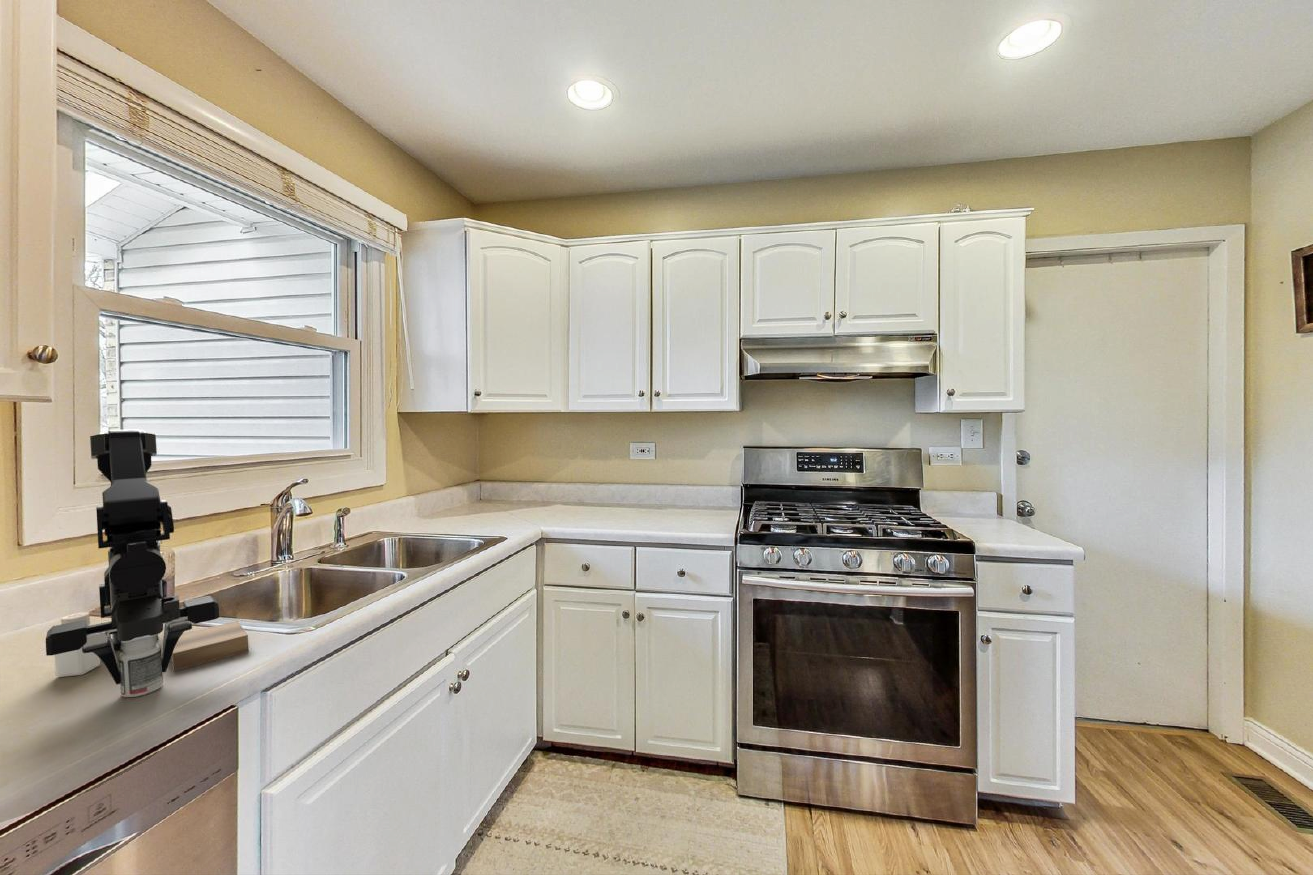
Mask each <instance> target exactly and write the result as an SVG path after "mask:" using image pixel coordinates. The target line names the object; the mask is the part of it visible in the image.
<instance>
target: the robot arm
mask: <svg viewBox="0 0 1313 875" xmlns="http://www.w3.org/2000/svg"><path fill="white" fill-rule="evenodd" d="M156 436H157V435H156V434H155V433H151V432H150V433H149V432H146V431H145V430H140V429H110V430H108V431H104V432H99V434H93V435H91V436H89V440H90V442H89V444H90V457H91V460H97V470H98V471H99V472H100V473H101V474H102V475H103V476H104V477H105V478H106V479H107V480H108V481H109V482H110V486H108V488H106V489H105V490H103V491H102V493H101V494H102V495H101V496H102V505H99V506H96V507H95V508H96V509H95V510H96V526H97V528H96V530H97V544H98V549H105V548H106V549H107V548H109V550H108V551H107V556H108V557H107V560H108V567H107V568H106V569H105V570H104V573H103V575H104V576H103V578H104V580H103V582H104V583H103V584H98V590H99V592H98V594H99V605H100V606H99V607H100V618H101V619H105V618H107V617H110V619H111V621H107V622H101V623H97V624H96V623H95V624H91V625H89V626H87V620H82V621H77V622H71V623H66V624H57V625H52V626H51V628H49V629H48V630H47V632H46V636H45V652H46V653H45V655H46V656H50V657H51V656H55V655H57V654H61V653H66V652H70V651H75V650H79V649H80V648H81V647H82V653H90V652H93V653H94V654H96V655H97V656H98V657H99V658H100V661H101V662H103V664H104V665H105V667H106V668H107V670H108V672H109V674H110V676H111V677H112V680H113V681H114V682H115V685H120V671H119V662H118V659H117V655H116V652H115V651H119V650H121V641H130V640H132V639H134V638H138V637H143V636H147V635H150V636H152V635H156V634H157V641H159V640H160V638H159V637H160V636H159V634H161V633H162V632H163V636H162V637H163V640H162V648H161V656H162V672H163V673H166V672H167V669H168V667H169V664H170V662H171V660H170V659H171V656H172V653H173V651H174V648H175V646H176V644H177V642H178V640H179V638H180V636H181V635H182V634H183V633H185V632H187V631H190V630H193V629H192V628H193V625H196V624H197V625H198V624H201V623H205V622H210V621H215V620H217V619H218V618H220V608H219V607H220V606H219V603H218V601H217V600H216V598H215V597H213V596H212V595H205V596H201V597H195V598H194V597H193V598H190V599H185V600H183V606H181V607H180V598H179V595H178V594H177V595H172V596H171V595H170V596H168V594H167V593H168V582H167V581H168V580H165V579H164V576H165V574H166V571H167V566H166V565H167V564H166V562H165V559H164V557H163V555H162V554H161V544H160V543H158V542H159V541H160V542H161V541H166V540H171V535H170V534H174V532H175V526H174V518H173V511H172V510H173V509H172V506H170V505H169V503H168V501H167V500H165V499H164V500H161V497H160V491H159V490H160V489H159V487H158V486H156V485H153V484H151V483H149V482H148V480H147V472H148V471H150V469H151V467H152V457H156V456H157V454H158V449H157V437H156ZM161 524H162V526H161ZM161 528H162V530H163V533H162V532H161V531H162V530H161ZM103 530H104V532H103ZM104 536H106V540H104ZM108 606H109V607H108ZM192 624H193V625H192Z"/></svg>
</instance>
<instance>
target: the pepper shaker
mask: <svg viewBox="0 0 1313 875" xmlns="http://www.w3.org/2000/svg"><path fill="white" fill-rule="evenodd" d="M82 620H87V626H91V625H90V624H91V621H90V620H91V616H90V613H89V612H77V613H72V614H68V615H65V616H62V617H61V619H60V622H61V624H66V623H71V622H77V621H82ZM61 624H60V625H61ZM100 664H101V659H100V658H99V657H98V656H97V655H96V654H94V653H93V652H90V653H82V647H81V648H80V649H79V650H75V651H70V652H66V653H61V654H57V655H54V667H55V668H54V669H55V675H56V677H57V678H62V677H73V676H74V677H75V676H81V675H85V674H87V673H88V672H90V671H92V670H94V669H96V668H97V667H99V666H100Z"/></svg>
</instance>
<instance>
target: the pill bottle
mask: <svg viewBox="0 0 1313 875" xmlns="http://www.w3.org/2000/svg"><path fill="white" fill-rule="evenodd" d="M120 650H121V651H122V652H121V653H119V655H118V667H119V671H120V684H119V686H120V696H122V697H124V698H135V697H142V696H145V695H148V694H150V693H152V692H154V691H157V690H158V689H160V688H161V687H163V685H164V674H163V673H164V672H162V646H161V645H160V644H158V640H157V634H156V635H152V636H150V635H147V636H143V637H138V638H134V639H132V640H130V641H121V649H120Z"/></svg>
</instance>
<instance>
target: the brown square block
mask: <svg viewBox="0 0 1313 875" xmlns="http://www.w3.org/2000/svg"><path fill="white" fill-rule="evenodd" d="M249 650H250V649H249V635H248V634H247V632H246V631H245V629H244V628H243V627H242V625H241V624H240V622H239V620H237V621H232V622H228V623H222V624H218V625H215V626H210V627H206V628H201V629H197V630H193V631H189V632H187V631H186V632H183V634H182V635H181V636H180V638H179V640H178V642H177V644H176V646H175V648H174V651H173V653H172V656H171V659H170V662H171V666H172V670H173V671H174V672H176V671H180V670H183V669H187V668H191V667H195V666H200V665H203V664H206V663H210V662H214V661H218V660H222V659H225V658H229V657H233V656H237V655H241V654H244V653H249Z"/></svg>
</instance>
